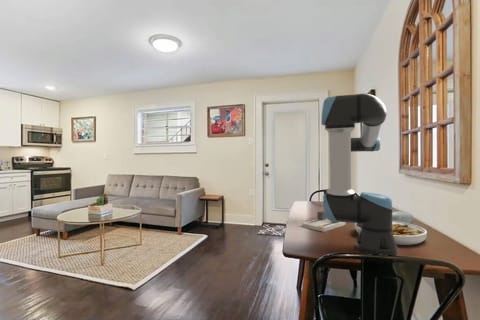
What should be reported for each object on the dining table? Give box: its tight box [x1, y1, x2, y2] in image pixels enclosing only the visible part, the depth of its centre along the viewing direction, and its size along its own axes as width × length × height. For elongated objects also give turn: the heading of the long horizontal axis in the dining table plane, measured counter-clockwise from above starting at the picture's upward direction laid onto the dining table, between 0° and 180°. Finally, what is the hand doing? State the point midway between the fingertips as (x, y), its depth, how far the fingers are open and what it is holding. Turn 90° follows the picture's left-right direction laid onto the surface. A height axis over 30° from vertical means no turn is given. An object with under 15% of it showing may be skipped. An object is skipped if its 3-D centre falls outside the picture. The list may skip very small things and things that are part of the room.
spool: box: [392, 210, 414, 224], centre depth 143 cm, size 14×10×10 cm
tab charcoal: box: [316, 210, 327, 220], centre depth 152 cm, size 4×4×4 cm
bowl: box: [354, 221, 428, 246], centre depth 125 cm, size 30×30×8 cm
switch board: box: [301, 218, 347, 233], centre depth 146 cm, size 22×14×2 cm, turn 129°
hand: (342, 202), depth 151 cm, fingers closed
